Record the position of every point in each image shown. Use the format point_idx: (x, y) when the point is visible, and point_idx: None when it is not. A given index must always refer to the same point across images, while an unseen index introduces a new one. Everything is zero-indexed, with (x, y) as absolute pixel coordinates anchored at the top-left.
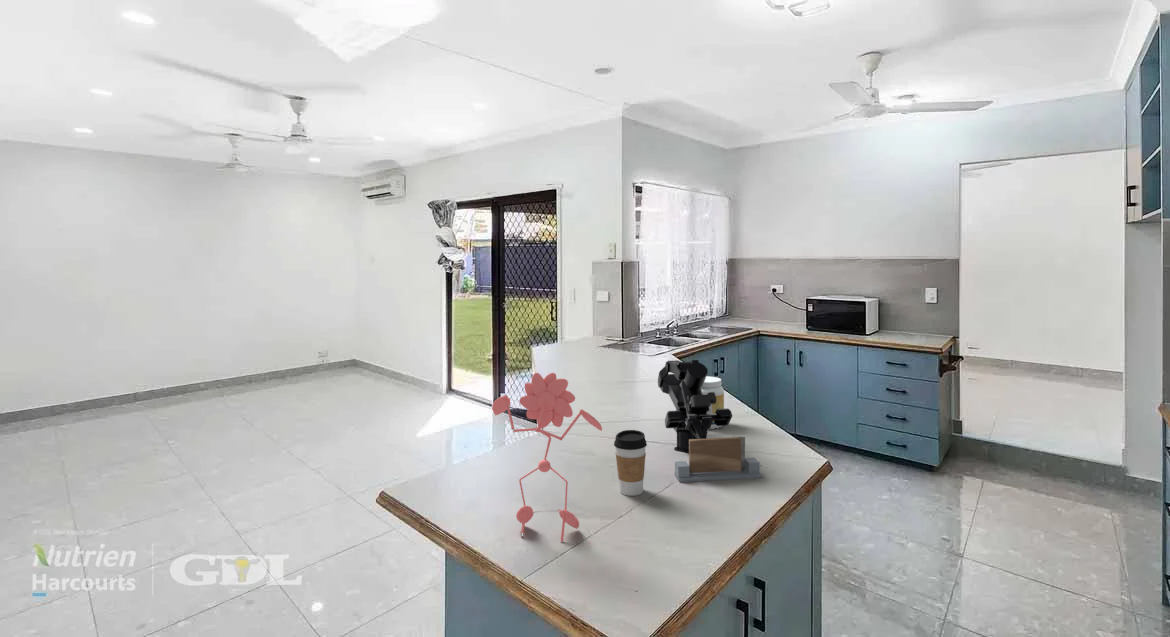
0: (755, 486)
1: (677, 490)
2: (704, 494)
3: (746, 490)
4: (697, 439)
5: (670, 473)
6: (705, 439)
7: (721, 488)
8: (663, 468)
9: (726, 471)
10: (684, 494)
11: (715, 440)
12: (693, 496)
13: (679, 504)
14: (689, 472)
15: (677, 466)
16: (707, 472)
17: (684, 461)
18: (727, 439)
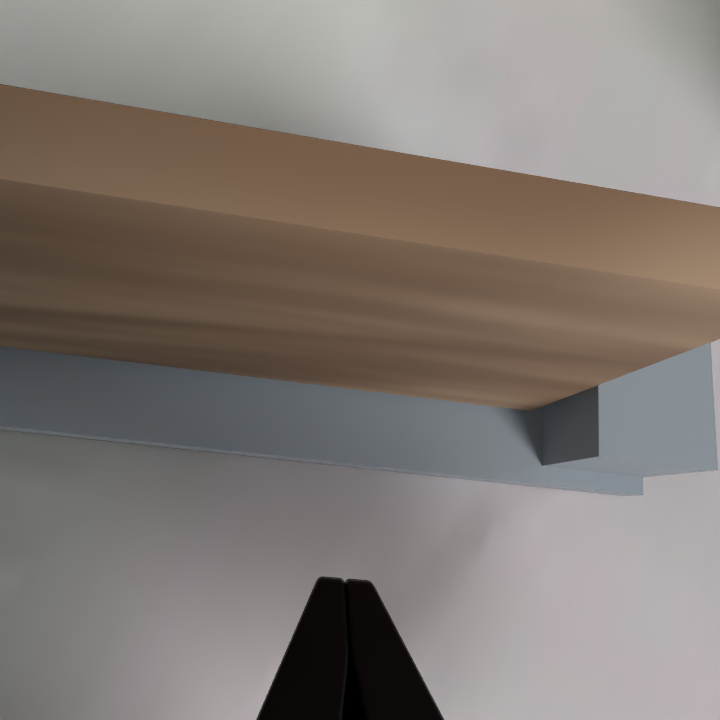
0: (40, 85)
1: (662, 197)
2: (496, 83)
3: (160, 46)
4: (650, 255)
5: (649, 547)
6: (496, 206)
7: (334, 133)
8: (690, 699)
9: (145, 367)
10: (630, 124)
11: (296, 148)
12: (579, 79)
13: (691, 10)
14: (513, 436)
15: (704, 349)
16: (346, 390)
17: (614, 446)
18: (21, 96)
